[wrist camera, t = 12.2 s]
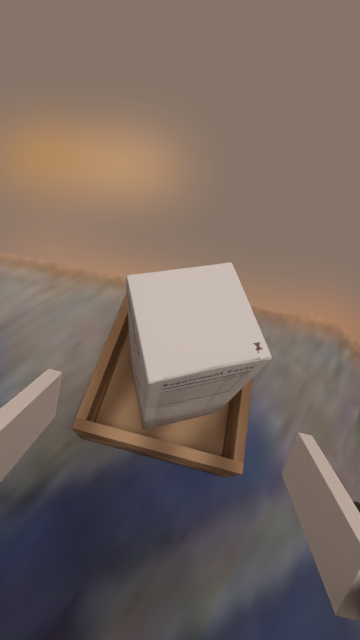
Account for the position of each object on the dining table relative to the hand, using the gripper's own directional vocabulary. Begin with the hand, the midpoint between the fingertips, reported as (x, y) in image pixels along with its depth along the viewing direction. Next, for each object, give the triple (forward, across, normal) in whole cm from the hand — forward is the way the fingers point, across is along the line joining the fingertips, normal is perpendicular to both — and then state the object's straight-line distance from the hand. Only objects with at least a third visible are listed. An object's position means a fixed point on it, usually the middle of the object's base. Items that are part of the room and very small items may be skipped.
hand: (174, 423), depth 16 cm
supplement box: (+19, 0, -7) cm, 21 cm away
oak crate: (+20, 0, -8) cm, 21 cm away
